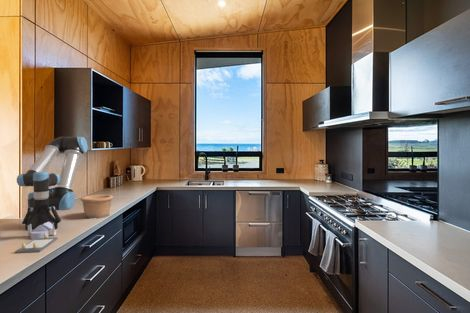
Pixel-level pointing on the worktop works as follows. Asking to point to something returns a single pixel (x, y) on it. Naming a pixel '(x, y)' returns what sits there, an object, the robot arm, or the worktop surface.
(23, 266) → the worktop surface
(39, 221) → the robot arm
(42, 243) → the pin plate
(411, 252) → the worktop surface
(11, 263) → the worktop surface
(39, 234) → the wedge on round base
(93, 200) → the pottery
